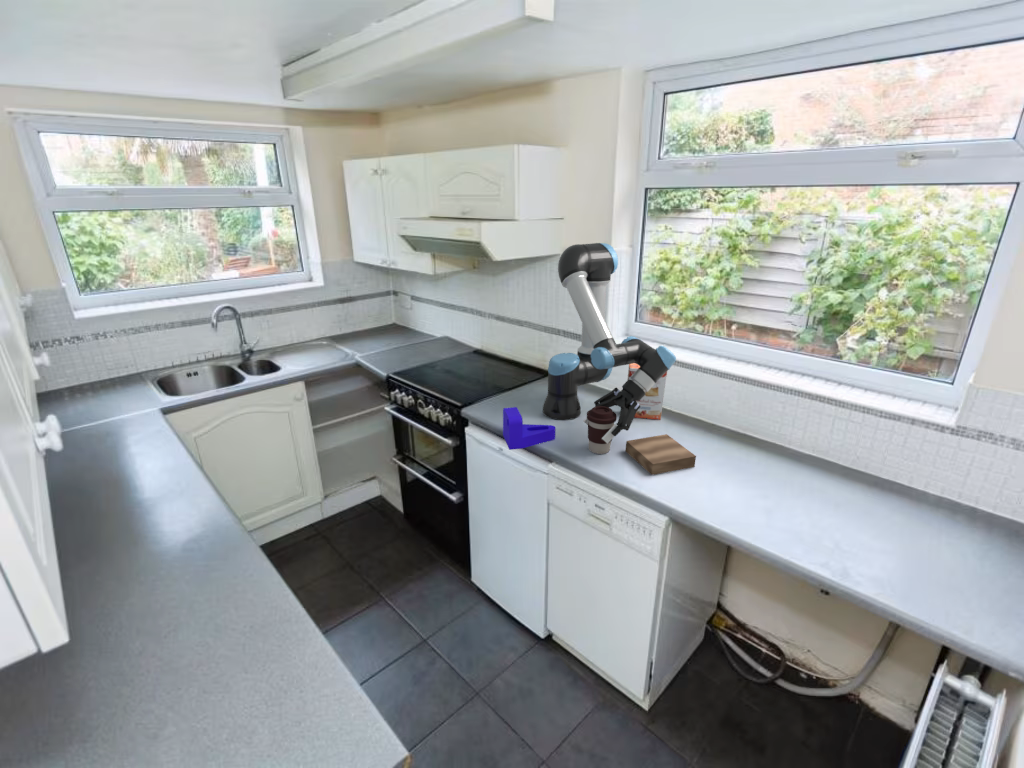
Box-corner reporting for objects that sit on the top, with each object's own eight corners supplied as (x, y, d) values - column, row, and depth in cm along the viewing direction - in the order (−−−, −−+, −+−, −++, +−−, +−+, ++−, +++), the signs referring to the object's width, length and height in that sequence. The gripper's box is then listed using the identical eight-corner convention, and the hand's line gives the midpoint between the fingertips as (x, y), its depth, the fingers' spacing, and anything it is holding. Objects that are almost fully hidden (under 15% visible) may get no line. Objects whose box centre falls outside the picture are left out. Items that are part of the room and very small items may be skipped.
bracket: (509, 450, 173) (509, 419, 169) (503, 435, 183) (503, 406, 179) (559, 444, 177) (560, 414, 173) (550, 431, 187) (551, 402, 182)
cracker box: (624, 417, 197) (629, 367, 190) (623, 411, 203) (628, 362, 195) (661, 420, 195) (667, 369, 187) (659, 414, 201) (665, 364, 193)
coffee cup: (583, 455, 170) (586, 414, 164) (585, 441, 179) (587, 402, 174) (613, 457, 168) (617, 417, 163) (613, 443, 177) (617, 405, 172)
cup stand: (625, 451, 173) (626, 440, 171) (665, 444, 177) (666, 434, 176) (651, 475, 158) (653, 464, 157) (694, 466, 163) (696, 456, 162)
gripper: (665, 406, 160) (619, 455, 161) (624, 379, 182) (585, 422, 183) (652, 393, 157) (606, 443, 158) (613, 367, 179) (572, 411, 180)
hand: (594, 432), depth 170 cm, fingers open, 13 cm apart
